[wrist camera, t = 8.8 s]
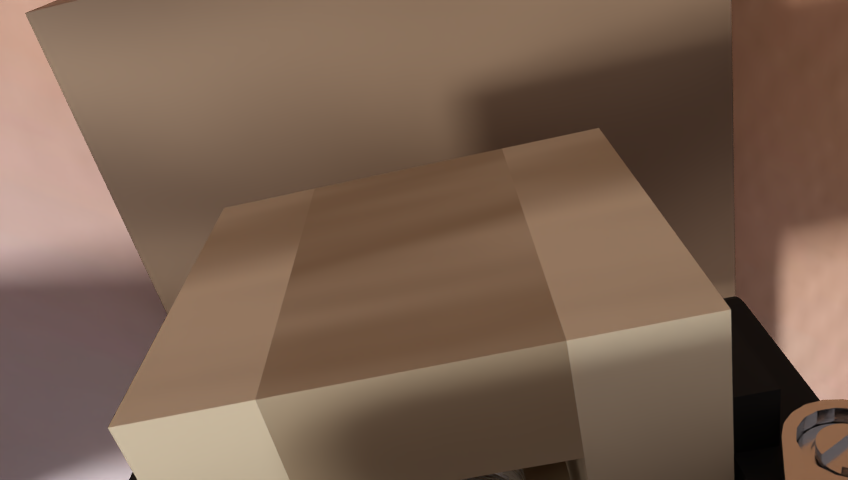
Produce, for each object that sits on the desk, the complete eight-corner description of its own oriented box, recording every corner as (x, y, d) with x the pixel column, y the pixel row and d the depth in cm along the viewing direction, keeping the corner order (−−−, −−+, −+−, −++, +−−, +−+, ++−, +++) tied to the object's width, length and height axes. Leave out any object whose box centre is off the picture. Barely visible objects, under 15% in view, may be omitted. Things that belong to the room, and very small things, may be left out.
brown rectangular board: (59, -1, 15) (25, 12, 13) (697, -157, 14) (729, -159, 12) (344, 640, 25) (341, 684, 24) (721, 579, 24) (739, 622, 22)
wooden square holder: (223, 208, 11) (108, 427, 7) (599, 127, 11) (731, 309, 6) (328, 474, 14) (292, 753, 10) (630, 420, 14) (738, 687, 9)
